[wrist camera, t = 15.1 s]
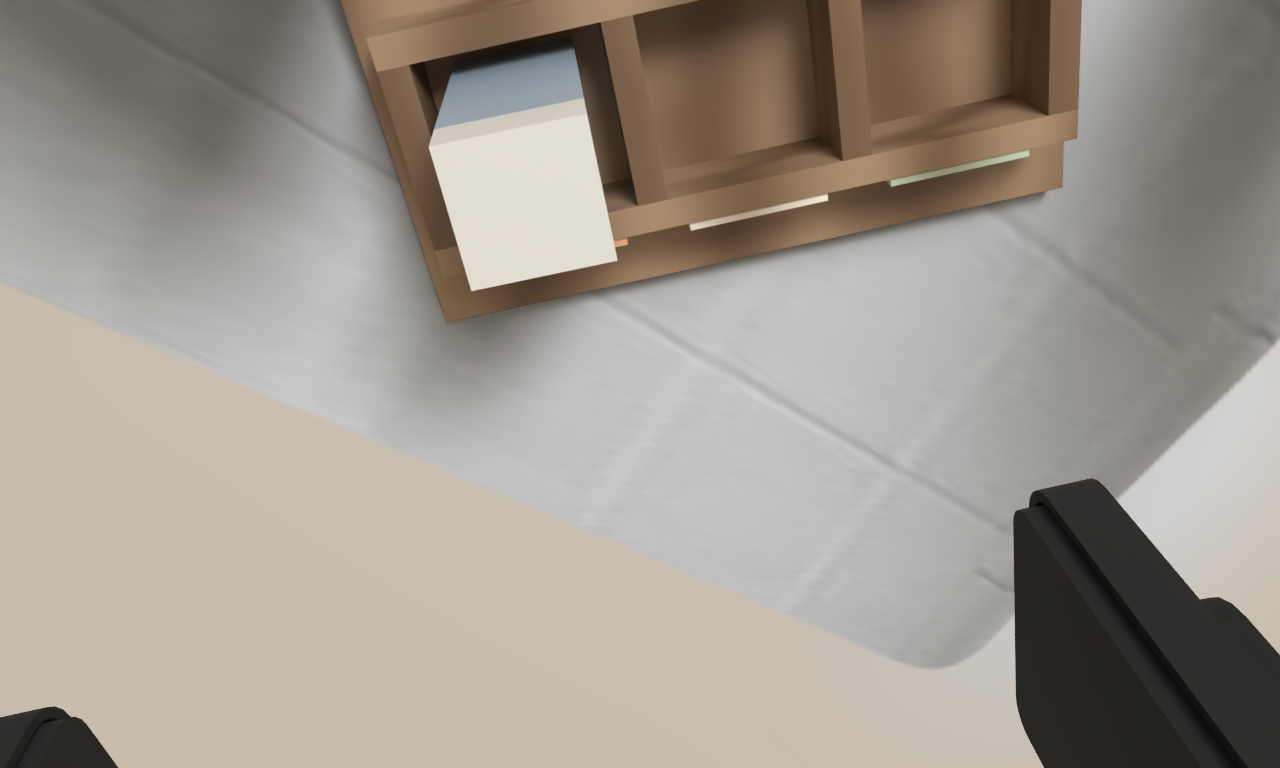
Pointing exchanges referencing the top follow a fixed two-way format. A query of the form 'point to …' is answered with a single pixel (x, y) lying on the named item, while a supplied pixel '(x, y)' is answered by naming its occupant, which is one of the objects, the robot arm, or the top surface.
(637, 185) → the socket block
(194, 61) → the top surface
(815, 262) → the top surface
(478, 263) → the plug
